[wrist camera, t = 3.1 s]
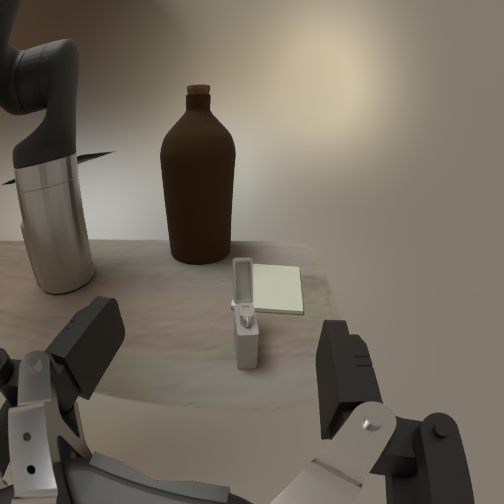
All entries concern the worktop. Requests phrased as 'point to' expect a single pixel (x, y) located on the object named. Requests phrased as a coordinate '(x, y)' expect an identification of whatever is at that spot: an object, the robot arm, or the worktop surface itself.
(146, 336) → the worktop surface
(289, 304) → the mat
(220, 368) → the worktop surface
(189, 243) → the olive oil
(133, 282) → the worktop surface
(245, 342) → the lighter
